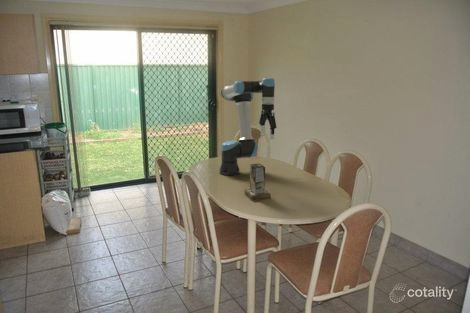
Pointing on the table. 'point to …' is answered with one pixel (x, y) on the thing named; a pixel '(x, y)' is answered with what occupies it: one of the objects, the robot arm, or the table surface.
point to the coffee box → (257, 178)
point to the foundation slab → (257, 195)
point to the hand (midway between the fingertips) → (267, 137)
